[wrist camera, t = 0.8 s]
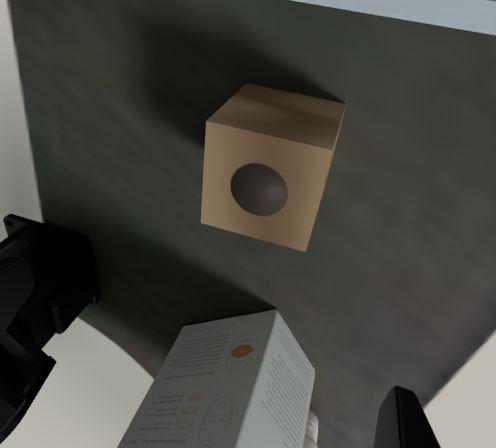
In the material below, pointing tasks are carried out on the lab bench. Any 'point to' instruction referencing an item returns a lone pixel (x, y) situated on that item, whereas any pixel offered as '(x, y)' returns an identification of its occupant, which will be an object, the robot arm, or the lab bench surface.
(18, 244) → the robot arm
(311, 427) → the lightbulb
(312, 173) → the walnut block
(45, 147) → the lab bench surface
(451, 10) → the sorting tray
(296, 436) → the small box
